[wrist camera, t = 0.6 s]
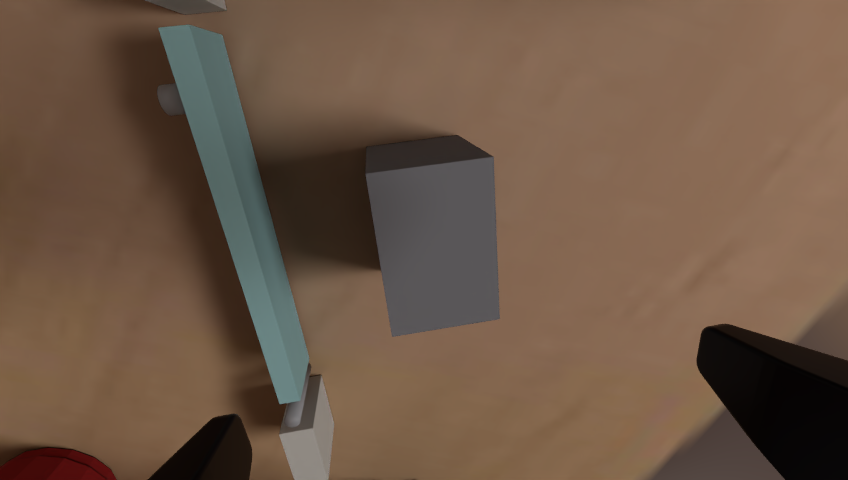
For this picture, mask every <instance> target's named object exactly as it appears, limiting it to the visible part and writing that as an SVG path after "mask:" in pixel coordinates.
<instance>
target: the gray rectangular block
mask: <svg viewBox="0 0 848 480" xmlns="http://www.w3.org/2000/svg"><path fill="white" fill-rule="evenodd" d="M365 174H366V181H367V187H368V193H369V199H370V205H371V211H372V217H373V223H374V229H375V235H376V241H377V248H378V254H379V260H380V266H381V272H382V278H383V284H384V290H385V296H386V302H387V308H388V315H389V321H390V327H391V333H392V337H394V336H400V335H406V334H412V333H418V332H424V331H430V330H436V329H442V328H448V327H454V326H460V325H466V324H473V323H479V322H485V321H491V320H497V319H500V315H499V289H498V262H497V236H496V210H495V183H494V157H493V156H491V155H490V154H488V153H486V152H485V151H483V150H481V149H480V148H478V147H476V146H475V145H473V144H471V143H470V142H468V141H467V140H465V139H463V138H462V137H460V136H458V135H455V136H447V137H439V138H431V139H423V140H415V141H407V142H399V143H392V144H384V145H376V146H368V147H366V171H365Z"/></svg>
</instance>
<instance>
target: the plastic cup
mask: <svg viewBox="0 0 848 480" xmlns="http://www.w3.org/2000/svg"><path fill="white" fill-rule="evenodd" d="M0 480H116V478H115V476H114V474H113V473H112V471H111V469H109V468H108V467H107V466H105V465H104V464H103V463H101V462H100V461H98V460H97V459H96V458H94V457H91V456H88V455H86V454H83V453H80V452H77V451H74V450H68V449H58V448H43V449H38V450H32V451H26V452H24V453H22V454H20V455H18V456H17V457H15V458H13V459H11V460H9V461H8V462H6V463H5V464H4V465H3V466H1V467H0Z"/></svg>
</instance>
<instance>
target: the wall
mask: <svg viewBox="0 0 848 480" xmlns="http://www.w3.org/2000/svg"><path fill="white" fill-rule="evenodd" d="M145 1H148V2H151V3H153V4H156V5H159V6H162V7H164V8H167V9H170V10H173V11H176V12H178V13H181V14H184V15H187V14H197V13H207V12H218V11H227V9H226V5H225V1H224V0H145ZM310 371H311V365H310V363H308V367H307V372H306V376H305V381H304V386H303V390H302V395H301V400H300V401H296V402H290V403H287V405H286V409H285V413H284V417H283V421H282V425H281V429H280V433H279V436H280V439H281V441H282V444H283V447H284V450H285V453H286V456H287V459H288V462H289V465H290V468H291V471H292V474H293V477H294V480H328V479H329V469H330V459H331V449H332V439H333V429H334V422H333V418H332V414H331V410H330V406H329V402H328V398H327V395H326V391H325V387H324V383H323V379H322V375H319V376H313V377H309V376H310Z"/></svg>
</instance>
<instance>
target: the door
mask: <svg viewBox="0 0 848 480" xmlns="http://www.w3.org/2000/svg"><path fill="white" fill-rule="evenodd" d="M158 29H159V32H160V35H161V38H162V41H163V44H164V47H165V50H166V54H167V57H168V60H169V63H170V66H171V69H172V72H173V75H174V78H175V81H176V83H174V84H165V85H159V86H158V89H157V95H158V100H159V103H160V105H161V107H162V109H163V110H164V111H165V113H166V114H168V115H170V116H172V115H181V114H186V116H187V119H188V122H189V125H190V128H191V131H192V134H193V137H194V140H195V143H196V147H197V150H198V153H199V156H200V159H201V162H202V165H203V168H204V171H205V175H206V178H207V181H208V184H209V187H210V190H211V193H212V196H213V199H214V202H215V206H216V209H217V212H218V215H219V218H220V221H221V224H222V227H223V230H224V233H225V237H226V240H227V243H228V246H229V249H230V252H231V255H232V258H233V261H234V264H235V268H236V271H237V274H238V277H239V280H240V283H241V286H242V289H243V292H244V295H245V299H246V302H247V305H248V308H249V311H250V314H251V317H252V320H253V323H254V326H255V330H256V333H257V336H258V339H259V342H260V345H261V348H262V351H263V354H264V357H265V361H266V364H267V367H268V370H269V373H270V376H271V379H272V382H273V385H274V388H275V392H276V395H277V398H278V401H279V404H284V403H290V402H296V401H300V400H301V395H302V390H303V386H304V381H305V376H306V372H307V367H308V362H309V356H308V352H307V348H306V344H305V341H304V337H303V333H302V330H301V326H300V322H299V318H298V315H297V311H296V307H295V304H294V300H293V296H292V292H291V289H290V285H289V281H288V278H287V274H286V270H285V266H284V263H283V259H282V255H281V251H280V248H279V244H278V240H277V237H276V233H275V229H274V225H273V222H272V218H271V214H270V211H269V207H268V203H267V199H266V196H265V192H264V188H263V185H262V181H261V177H260V173H259V170H258V166H257V162H256V159H255V155H254V151H253V147H252V144H251V140H250V136H249V133H248V129H247V125H246V121H245V118H244V114H243V110H242V106H241V103H240V99H239V95H238V92H237V88H236V84H235V80H234V77H233V73H232V69H231V66H230V62H229V58H228V54H227V51H226V47H225V43H224V40H223V36H222V35H221V34H218V33H215V32H211V31H208V30H205V29H202V28H199V27H195V26H192V25H181V26H171V27H161V28H158Z"/></svg>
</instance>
